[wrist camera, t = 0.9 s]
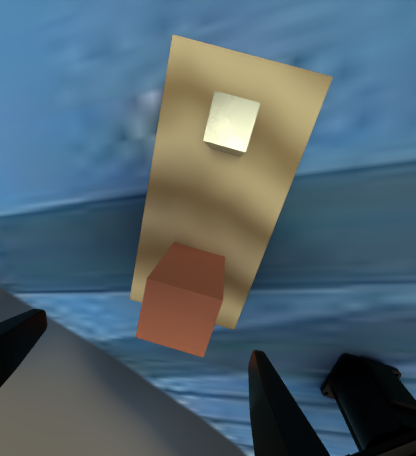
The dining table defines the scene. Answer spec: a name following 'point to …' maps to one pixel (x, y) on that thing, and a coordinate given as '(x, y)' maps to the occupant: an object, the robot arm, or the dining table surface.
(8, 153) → the dining table surface
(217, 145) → the steel block
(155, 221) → the brass board
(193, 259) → the reddish brown block
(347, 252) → the dining table surface
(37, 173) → the dining table surface
